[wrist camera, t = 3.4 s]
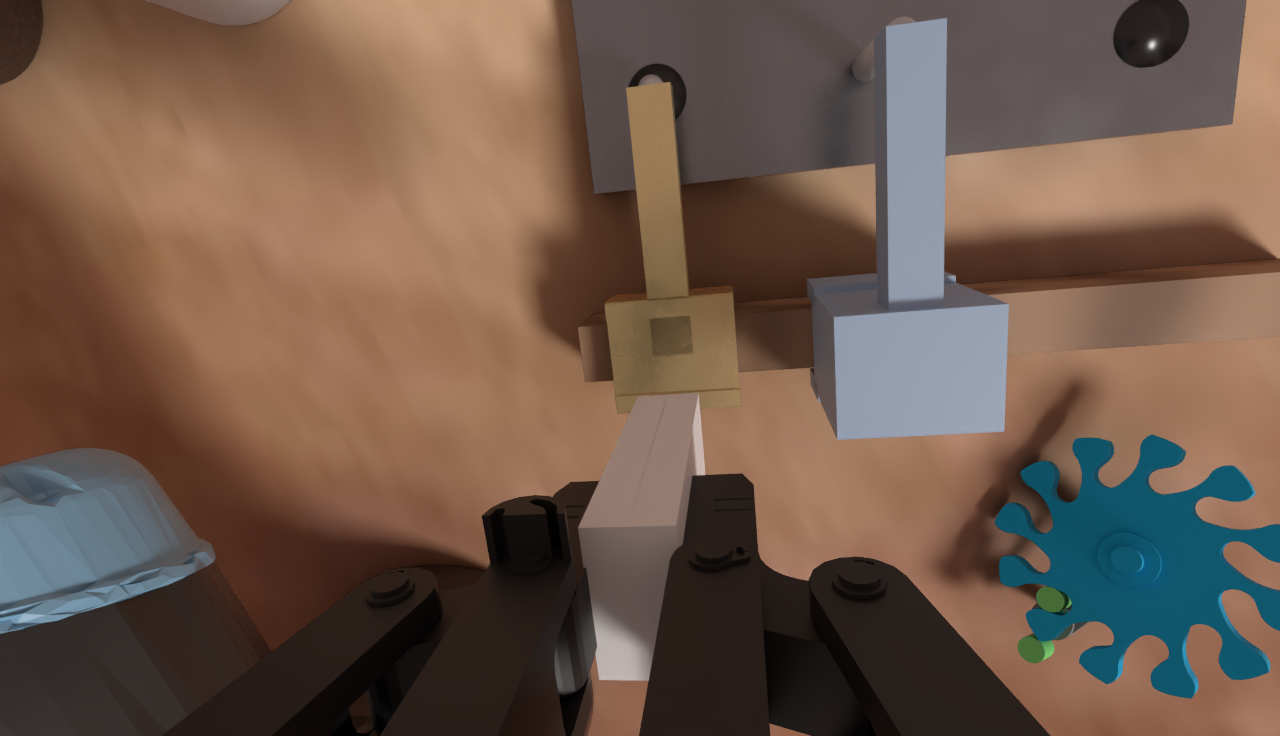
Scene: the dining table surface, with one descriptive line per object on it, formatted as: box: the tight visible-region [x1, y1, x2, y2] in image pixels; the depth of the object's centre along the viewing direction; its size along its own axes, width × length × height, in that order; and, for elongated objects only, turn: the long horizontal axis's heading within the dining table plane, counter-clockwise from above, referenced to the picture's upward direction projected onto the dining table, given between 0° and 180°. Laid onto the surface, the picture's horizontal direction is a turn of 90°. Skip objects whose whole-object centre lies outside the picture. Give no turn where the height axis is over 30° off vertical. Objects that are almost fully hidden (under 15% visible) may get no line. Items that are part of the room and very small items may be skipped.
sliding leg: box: [807, 17, 1009, 440], centre depth 23 cm, size 5×13×7 cm, turn 6°
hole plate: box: [572, 0, 1246, 194], centre depth 25 cm, size 24×11×2 cm, turn 96°
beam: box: [578, 258, 1280, 382], centre depth 27 cm, size 28×2×3 cm, turn 96°
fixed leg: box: [604, 74, 741, 414], centre depth 26 cm, size 5×13×3 cm, turn 6°
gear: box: [995, 435, 1280, 698], centre depth 28 cm, size 11×6×10 cm
